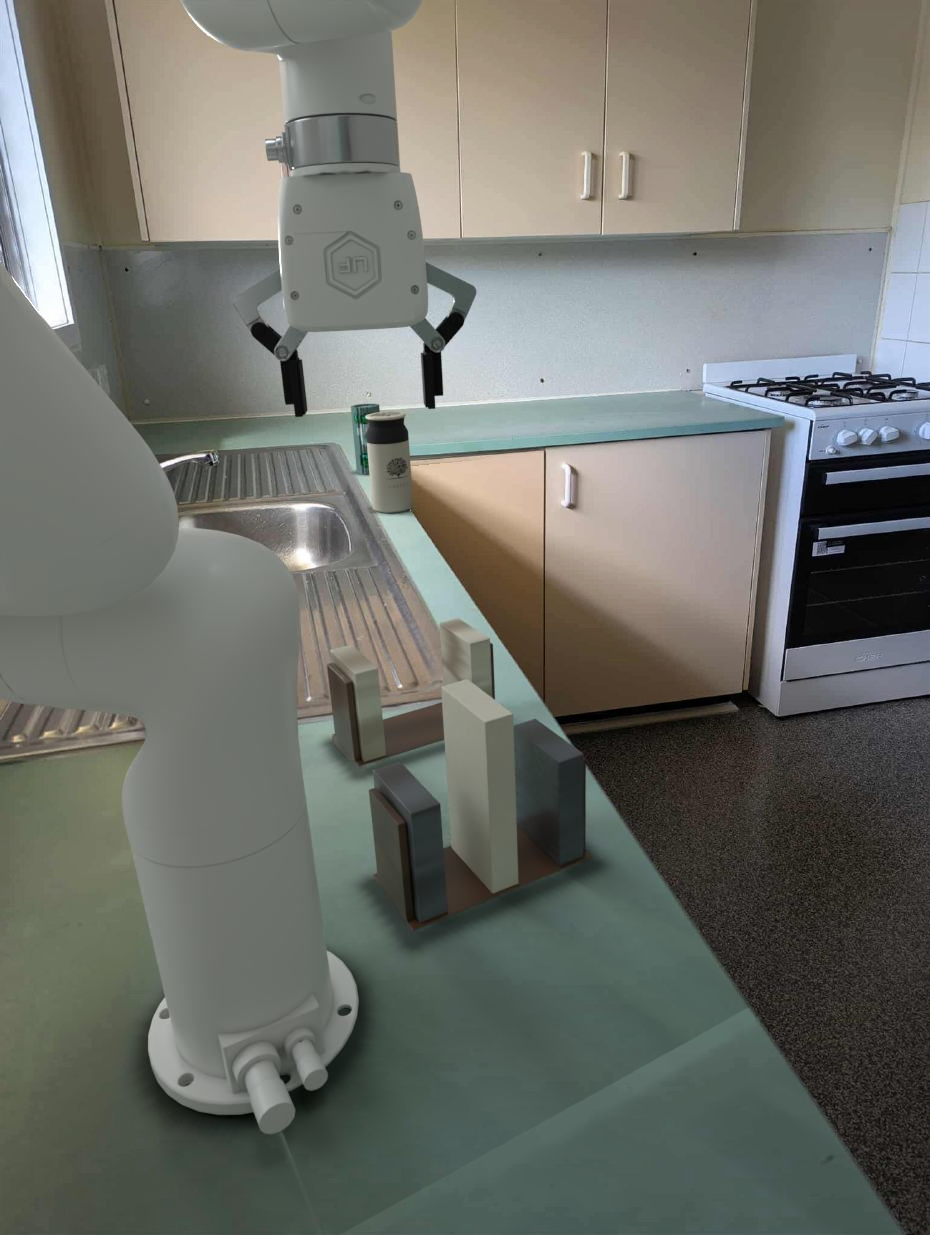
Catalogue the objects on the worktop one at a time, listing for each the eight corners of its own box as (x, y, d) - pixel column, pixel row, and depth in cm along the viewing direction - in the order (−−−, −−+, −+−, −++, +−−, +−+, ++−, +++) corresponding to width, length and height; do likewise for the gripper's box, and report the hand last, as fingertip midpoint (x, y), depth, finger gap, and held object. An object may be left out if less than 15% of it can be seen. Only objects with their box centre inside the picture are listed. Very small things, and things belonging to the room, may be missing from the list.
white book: (518, 883, 64) (513, 713, 58) (492, 894, 63) (485, 722, 57) (475, 838, 69) (467, 678, 64) (451, 847, 68) (440, 686, 63)
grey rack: (593, 866, 67) (594, 752, 63) (413, 942, 60) (403, 819, 56) (542, 821, 72) (540, 714, 69) (373, 885, 66) (361, 770, 62)
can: (367, 475, 198) (361, 408, 193) (352, 472, 203) (346, 406, 197) (389, 470, 202) (383, 404, 196) (374, 467, 206) (368, 402, 201)
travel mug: (370, 505, 173) (361, 413, 166) (409, 501, 175) (403, 409, 168) (375, 515, 166) (367, 419, 159) (417, 510, 167) (410, 415, 161)
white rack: (501, 730, 87) (498, 637, 83) (359, 775, 80) (349, 677, 77) (467, 703, 93) (463, 615, 89) (332, 743, 86) (321, 650, 82)
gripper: (205, 152, 55) (242, 425, 62) (476, 142, 57) (486, 410, 63) (224, 167, 62) (255, 410, 69) (464, 158, 64) (474, 397, 70)
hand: (365, 410), depth 66 cm, fingers open, 9 cm apart
